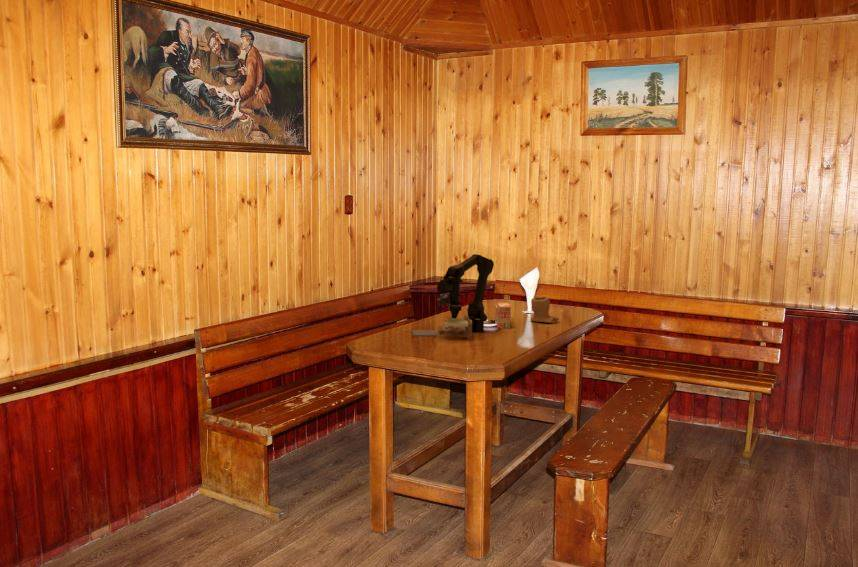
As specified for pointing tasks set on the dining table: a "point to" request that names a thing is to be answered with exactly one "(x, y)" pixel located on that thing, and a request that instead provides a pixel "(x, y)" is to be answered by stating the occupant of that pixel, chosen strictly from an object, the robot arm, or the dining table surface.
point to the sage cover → (456, 322)
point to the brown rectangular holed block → (458, 329)
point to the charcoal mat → (424, 333)
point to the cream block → (451, 327)
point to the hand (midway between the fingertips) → (453, 321)
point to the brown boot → (542, 310)
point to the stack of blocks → (503, 315)
